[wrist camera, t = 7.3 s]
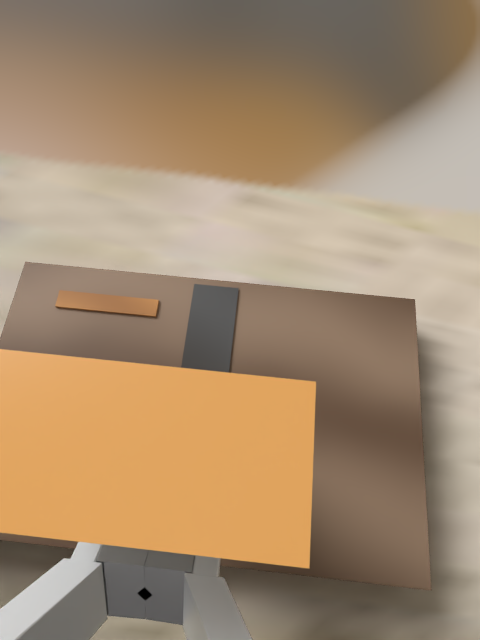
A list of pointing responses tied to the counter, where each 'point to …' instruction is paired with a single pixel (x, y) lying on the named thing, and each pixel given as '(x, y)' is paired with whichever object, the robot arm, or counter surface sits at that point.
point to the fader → (156, 457)
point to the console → (272, 361)
